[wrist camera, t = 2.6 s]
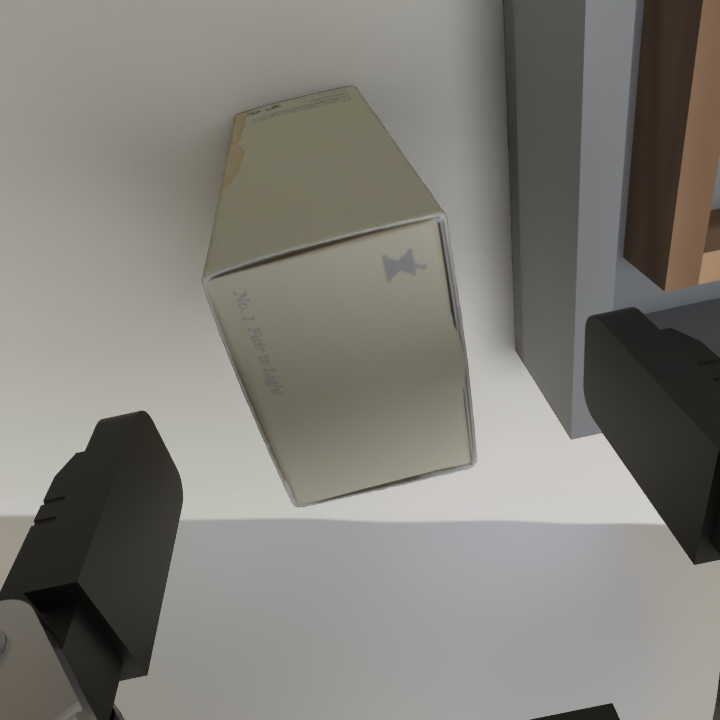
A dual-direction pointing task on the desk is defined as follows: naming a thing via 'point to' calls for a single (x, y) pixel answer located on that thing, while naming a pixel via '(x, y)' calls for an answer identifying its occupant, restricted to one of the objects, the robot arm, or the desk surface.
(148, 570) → the robot arm
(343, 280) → the skincare box
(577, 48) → the open box
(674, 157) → the square socket
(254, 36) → the desk surface
